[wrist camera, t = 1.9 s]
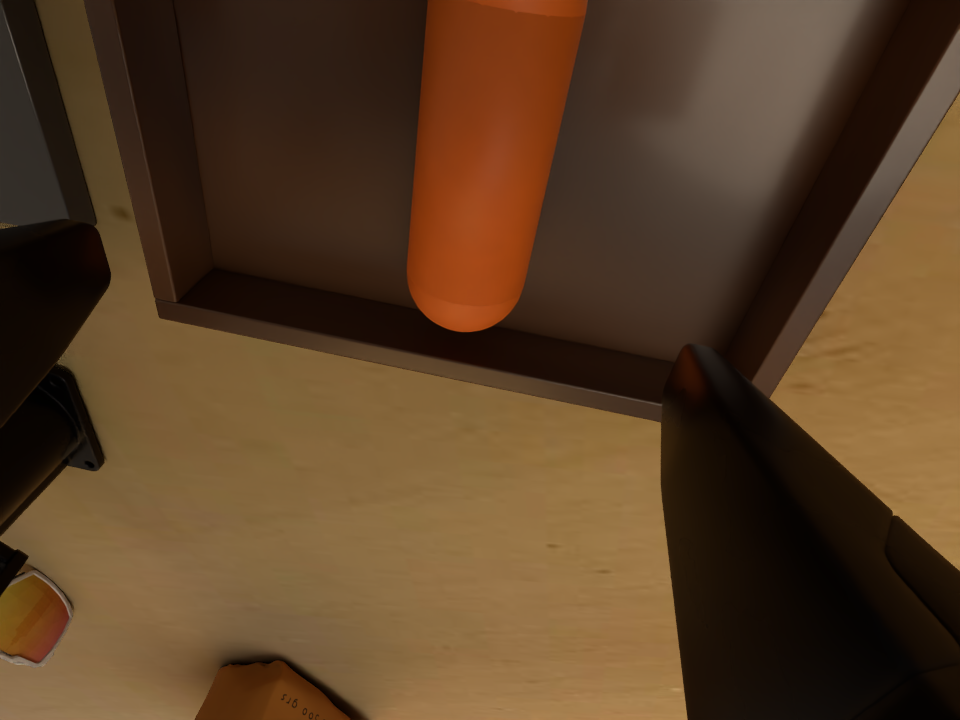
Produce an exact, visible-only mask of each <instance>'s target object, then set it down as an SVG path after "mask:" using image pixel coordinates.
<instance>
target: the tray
mask: <svg viewBox="0 0 960 720" xmlns="http://www.w3.org/2000/svg"><path fill="white" fill-rule="evenodd" d="M84 4H85V8H86V13H87V17H88V21H89V25H90V29H91V34H92V38H93V42H94V46H95V50H96V55H97V59H98V63H99V67H100V71H101V76H102V80H103V84H104V88H105V92H106V97H107V101H108V105H109V109H110V113H111V118H112V122H113V126H114V130H115V134H116V139H117V143H118V147H119V151H120V155H121V160H122V164H123V168H124V172H125V176H126V181H127V185H128V189H129V193H130V197H131V202H132V206H133V210H134V214H135V218H136V223H137V227H138V231H139V235H140V239H141V244H142V248H143V252H144V256H145V260H146V265H147V269H148V273H149V277H150V281H151V286H152V290H153V294H154V297H155V298H156V299H155V302H156V307H157V311H158V315H159V317H160V318H161V319H166V320H171V321H176V322H181V323H186V324H190V325H195V326H200V327H205V328H210V329H214V330H219V331H224V332H229V333H234V334H239V335H243V336H248V337H253V338H258V339H263V340H267V341H272V342H277V343H282V344H287V345H292V346H296V347H301V348H306V349H311V350H316V351H320V352H325V353H330V354H335V355H340V356H345V357H349V358H354V359H359V360H364V361H369V362H373V363H378V364H383V365H388V366H393V367H398V368H402V369H407V370H412V371H417V372H422V373H426V374H431V375H436V376H441V377H446V378H451V379H455V380H460V381H465V382H470V383H475V384H479V385H484V386H489V387H494V388H499V389H504V390H508V391H513V392H518V393H523V394H528V395H532V396H537V397H542V398H547V399H552V400H557V401H561V402H566V403H571V404H576V405H581V406H585V407H590V408H595V409H600V410H605V411H609V412H614V413H619V414H624V415H629V416H634V417H638V418H643V419H648V420H653V421H658V422H661V413H662V393H663V389H664V386H665V383H666V381H667V379H668V377H669V374H670V372H671V370H672V368H673V365H674V363H675V361H676V359H677V357H678V354H679V352H680V350H681V349H682V347H683V346H684V345H686V344H688V343H691V344H697V345H702V346H707V347H711V348H714V349H715V350H717V351H718V352H719V353H720V354H721V355H722V356H723V357H724V358H725V359H726V360H727V361H729V362H730V363H731V364H732V365H733V366H734V367H735V368H736V369H737V370H738V371H740V372H741V373H742V374H743V375H744V376H745V377H746V378H747V379H748V380H749V381H751V382H752V383H753V384H754V385H755V386H756V387H757V388H758V389H759V390H760V391H761V392H763V393H764V394H765V395H766V396H767V397H768V398H770V396H771V395H772V393H773V392H774V390H775V388H776V387H777V385H778V384H779V382H780V380H781V379H782V377H783V376H784V374H785V372H786V371H787V369H788V368H789V366H790V364H791V363H792V361H793V359H794V358H795V356H796V355H797V353H798V351H799V350H800V348H801V347H802V345H803V343H804V342H805V340H806V339H807V337H808V335H809V334H810V332H811V331H812V329H813V327H814V326H815V324H816V322H817V321H818V319H819V318H820V316H821V314H822V313H823V311H824V310H825V308H826V306H827V305H828V303H829V302H830V300H831V298H832V297H833V295H834V294H835V292H836V290H837V289H838V287H839V285H840V284H841V282H842V281H843V279H844V277H845V276H846V274H847V273H848V271H849V269H850V268H851V266H852V265H853V263H854V261H855V260H856V258H857V257H858V255H859V253H860V252H861V250H862V249H863V247H864V245H865V244H866V242H867V240H868V239H869V237H870V236H871V234H872V232H873V231H874V229H875V228H876V226H877V224H878V223H879V221H880V220H881V218H882V216H883V215H884V213H885V212H886V210H887V208H888V207H889V205H890V203H891V202H892V200H893V199H894V197H895V195H896V194H897V192H898V191H899V189H900V187H901V186H902V184H903V183H904V181H905V179H906V178H907V176H908V175H909V173H910V171H911V170H912V168H913V166H914V165H915V163H916V162H917V160H918V158H919V157H920V155H921V154H922V152H923V150H924V149H925V147H926V146H927V144H928V142H929V141H930V139H931V138H932V136H933V134H934V133H935V131H936V129H937V128H938V126H939V125H940V123H941V121H942V120H943V118H944V117H945V115H946V113H947V112H948V110H949V109H950V107H951V105H952V104H953V102H954V101H955V99H956V97H957V96H958V94H959V92H960V0H588V2H587V9H586V15H585V20H584V24H583V29H582V33H581V37H580V42H579V46H578V51H577V55H576V59H575V64H574V68H573V73H572V77H571V81H570V86H569V90H568V94H567V99H566V103H565V108H564V112H563V116H562V121H561V125H560V130H559V134H558V138H557V143H556V147H555V152H554V156H553V160H552V165H551V169H550V174H549V178H548V182H547V187H546V191H545V196H544V200H543V204H542V209H541V213H540V218H539V222H538V226H537V231H536V235H535V240H534V244H533V248H532V253H531V257H530V262H529V266H528V270H527V275H526V279H525V284H524V287H523V290H522V293H521V295H520V298H519V300H518V302H517V304H516V305H515V307H514V308H513V309H512V311H511V312H510V313H509V314H508V315H507V316H506V317H505V318H504V319H503V320H501V321H500V322H498V323H497V324H495V325H493V326H491V327H489V328H486V329H484V330H479V331H473V332H458V331H453V330H449V329H446V328H444V327H441V326H439V325H438V324H436V323H434V322H432V321H431V320H430V319H429V318H427V317H426V316H425V315H424V314H423V313H422V312H421V310H420V309H419V308H418V307H417V305H416V303H415V301H414V300H413V298H412V295H411V293H410V290H409V286H408V282H407V257H408V245H409V232H410V219H411V207H412V194H413V182H414V169H415V156H416V144H417V131H418V118H419V106H420V93H421V80H422V68H423V55H424V42H425V30H426V17H427V4H428V0H84Z"/></svg>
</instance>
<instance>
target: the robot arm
mask: <svg viewBox="0 0 960 720" xmlns="http://www.w3.org/2000/svg"><path fill="white" fill-rule="evenodd" d="M110 280H111V272H110V268H109V264H108V261H107V258H106V254H105V251H104V247H103V244H102V240H101V237H100V234H99V232H98V230H97V229H96V228H95V227H94V226H93V225H91V224H89V223H85V222H80V221H75V220H70V219H57V220H51V221H46V222H40V223H34V224H28V225H22V226H16V227H11V228H5V229H0V536H1V535H2V534H3V533H4V532H5V531H6V530H7V529H8V528H9V527H10V526H11V525H12V524H13V523H14V522H15V520H16V519H17V518H18V517H19V516H20V515H21V514H22V513H23V512H24V511H25V510H26V509H27V508H28V507H29V506H30V505H31V503H32V502H33V501H34V500H35V499H36V498H37V497H38V496H39V495H40V494H41V493H42V492H43V491H44V490H45V489H46V488H47V487H48V485H49V484H50V483H51V482H52V481H53V480H54V479H55V478H56V477H57V476H58V475H59V474H60V473H61V472H62V471H63V470H64V469H65V467H66V466H72V467H76V468H81V469H86V470H91V471H98V470H99V469H100V468H101V466H102V465H103V464H104V459H103V456H102V454H101V451H100V448H99V446H98V443H97V441H96V438H95V435H94V433H93V430H92V427H91V425H90V422H89V419H88V417H87V414H86V412H85V409H84V406H83V404H82V401H81V398H80V396H79V393H78V391H77V388H76V385H75V383H74V380H73V378H72V377H71V375H70V374H69V373H67V372H66V371H64V370H61V369H58V368H53V366H54V365H55V364H56V362H57V361H58V360H59V358H60V357H61V356H62V354H63V353H64V352H65V350H66V349H67V347H68V346H69V344H70V343H71V341H72V340H73V339H74V337H75V336H76V334H77V333H78V331H79V330H80V328H81V327H82V325H83V324H84V322H85V321H86V319H87V318H88V317H89V315H90V314H91V312H92V311H93V309H94V308H95V306H96V305H97V303H98V302H99V300H100V299H101V298H102V296H103V295H104V293H105V292H106V290H107V289H108V287H109V284H110ZM661 492H662V503H663V511H664V520H665V529H666V537H667V546H668V555H669V563H670V572H671V580H672V589H673V598H674V606H675V615H676V623H677V632H678V641H679V649H680V658H681V667H682V675H683V684H684V692H685V701H686V710H687V718H688V720H960V571H959V570H958V569H957V568H955V567H954V566H953V565H952V564H951V563H950V562H949V561H947V560H946V559H945V558H944V557H943V556H942V555H941V554H940V553H938V552H937V551H936V550H935V549H934V548H933V547H932V546H931V545H929V544H928V543H927V542H926V541H925V540H924V539H923V538H921V537H920V536H919V535H918V534H917V533H916V532H915V531H914V530H913V529H912V528H911V527H910V526H908V525H907V524H906V523H905V522H904V521H903V520H902V519H901V518H900V517H899V516H892V515H893V512H892V510H891V509H890V508H889V507H888V506H886V505H885V504H884V503H883V502H882V501H881V500H880V499H879V498H878V497H877V496H875V495H874V494H873V493H872V492H871V491H870V490H869V489H868V488H867V487H866V486H865V485H863V484H862V483H861V482H860V481H859V480H858V479H857V478H856V477H855V476H854V475H852V474H851V473H850V472H849V471H848V470H847V469H846V468H845V467H844V466H843V465H841V464H840V463H839V462H838V461H837V460H836V459H835V458H834V457H833V456H832V455H831V454H829V453H828V452H827V451H826V450H825V449H824V448H823V447H822V446H821V445H820V444H818V443H817V442H816V441H815V440H814V439H813V438H812V437H811V436H810V435H809V434H808V433H806V432H805V431H804V430H803V429H802V428H801V427H800V426H799V425H798V424H797V423H795V422H794V421H793V420H792V419H791V418H790V417H789V416H788V415H787V414H786V413H784V412H783V411H782V410H781V409H780V408H779V407H778V406H777V405H776V404H775V403H774V402H772V401H771V400H770V399H769V398H768V397H767V396H766V395H765V394H764V393H763V392H761V391H760V390H759V389H758V388H757V387H756V386H755V385H754V384H753V383H752V382H751V381H749V380H748V379H747V378H746V377H745V376H744V375H743V374H742V373H741V372H740V371H738V370H737V369H736V368H735V367H734V366H733V365H732V364H731V363H730V362H729V361H727V360H726V359H725V358H724V357H723V356H722V355H721V354H720V353H719V352H718V351H717V350H715V349H714V348H711V347H707V346H702V345H697V344H691V343H688V344H686V345H684V346H683V347H682V349H681V350H680V352H679V354H678V357H677V359H676V361H675V363H674V365H673V368H672V370H671V372H670V374H669V377H668V379H667V381H666V383H665V386H664V389H663V393H662V413H661ZM28 557H29V556H28V555H26V554H25V553H23V552H21V551H20V550H18V549H17V550H14V549H12V548H11V547H9V546H7V545H6V544H4V543H3V542H1V541H0V597H1V595H2V594H3V592H4V591H5V590H6V588H7V587H8V585H9V584H10V583H11V581H12V580H13V578H14V577H15V576H16V574H17V573H18V571H19V570H20V569H21V567H22V566H23V564H24V563H25V562H26V560H27V559H28Z"/></svg>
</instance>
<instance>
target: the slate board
mask: <svg viewBox="0 0 960 720" xmlns="http://www.w3.org/2000/svg"><path fill="white" fill-rule="evenodd" d="M57 219H70V220H75V221H80V222H85V223H89V224H91V225H93V226H94V225H96V224H97V222H96V218H95V215H94V211H93V208H92V204H91V201H90V197H89V194H88V190H87V187H86V183H85V180H84V176H83V173H82V169H81V166H80V162H79V159H78V155H77V152H76V148H75V145H74V141H73V138H72V134H71V131H70V127H69V123H68V120H67V116H66V113H65V109H64V106H63V102H62V99H61V95H60V92H59V88H58V85H57V81H56V78H55V74H54V71H53V67H52V64H51V60H50V57H49V53H48V50H47V46H46V43H45V39H44V36H43V32H42V29H41V25H40V21H39V18H38V14H37V11H36V7H35V4H34V0H0V222H2V223H7V224H11V225H16V226H22V225H28V224H34V223H40V222H46V221H51V220H57Z"/></svg>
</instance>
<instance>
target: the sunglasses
mask: <svg viewBox="0 0 960 720" xmlns="http://www.w3.org/2000/svg"><path fill="white" fill-rule="evenodd" d="M72 617H73V612H72V609H71V606H70V603H69V602H68V600H67V599H66V597H65V595H64V594H63V593H62V591H61V590H60V589H59V588H58V587H57V586H56V585H55V584H54V583H53V582H52V581H51V580H49V579H48V578H47V577H46V576H44V575H43V574H41V573H40V572H38V571H37V570H32V571H30V572H28V573H26V574H25V572H23V573H21V574H19V575H17V576H15V577H14V578H13V580H12V581H11V583H10V584H9V585H8V587H7V588H6V590H5V591H4V592H3V594H2V595H1V597H0V658H1V659H3V660H6V661H8V662H11V663H14V664H17V665H28V666H31V667H33V668H36V667H42V666H44V665H45V664H46V663H47V662H48V660H49V659H50V658H51V657H52V656H53V655H54V651H55V649H56V647H57V646H58V644H59V643H60V641H61V639H62V638H63V636H64V635H65V633H66V631H67V629H68V627H69V624H70V622H71V620H72Z"/></svg>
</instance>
